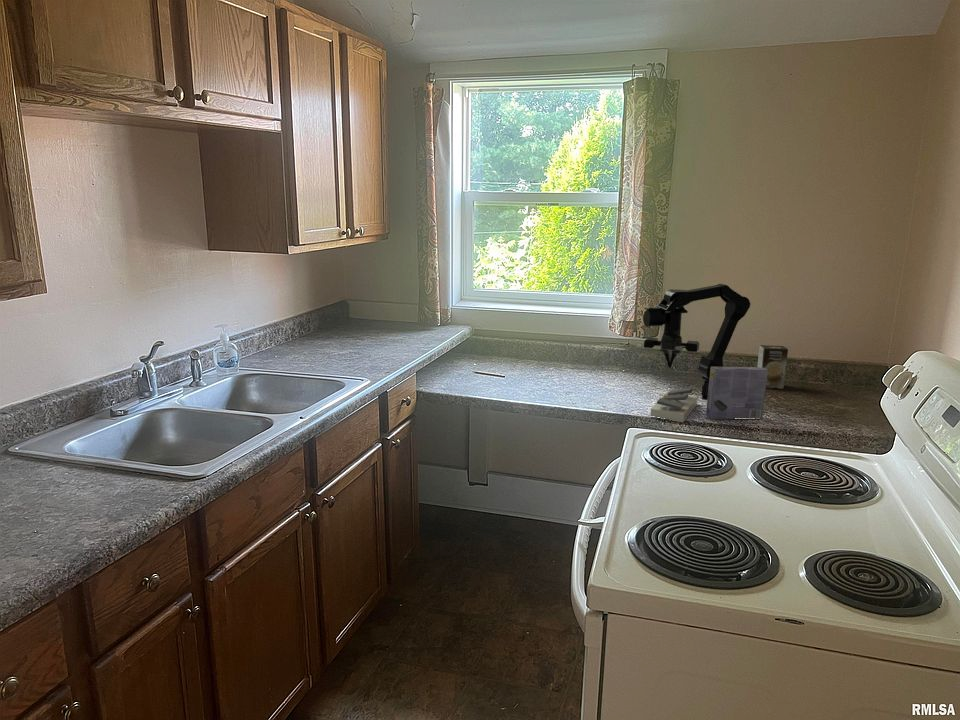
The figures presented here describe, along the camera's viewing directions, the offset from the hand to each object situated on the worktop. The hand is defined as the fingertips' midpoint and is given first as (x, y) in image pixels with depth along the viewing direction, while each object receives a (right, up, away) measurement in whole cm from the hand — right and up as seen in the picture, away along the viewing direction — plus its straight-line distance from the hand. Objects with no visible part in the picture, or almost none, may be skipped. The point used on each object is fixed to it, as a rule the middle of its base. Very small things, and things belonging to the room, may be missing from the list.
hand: (669, 367), depth 249 cm
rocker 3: (-5, -13, -16) cm, 21 cm away
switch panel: (-1, -15, -8) cm, 17 cm away
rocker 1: (+3, -9, -3) cm, 10 cm away
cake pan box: (+18, -17, -16) cm, 29 cm away
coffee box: (+45, -8, +22) cm, 51 cm away
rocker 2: (-1, -11, -9) cm, 14 cm away
